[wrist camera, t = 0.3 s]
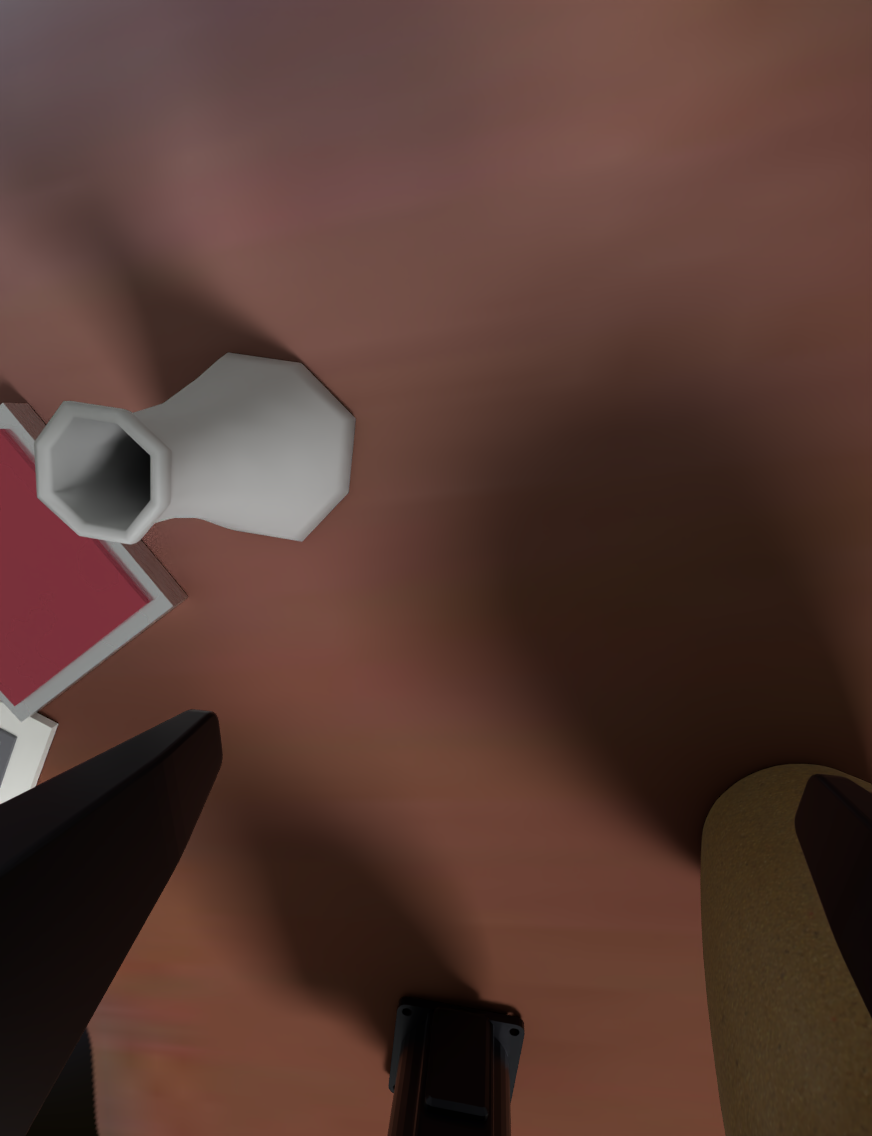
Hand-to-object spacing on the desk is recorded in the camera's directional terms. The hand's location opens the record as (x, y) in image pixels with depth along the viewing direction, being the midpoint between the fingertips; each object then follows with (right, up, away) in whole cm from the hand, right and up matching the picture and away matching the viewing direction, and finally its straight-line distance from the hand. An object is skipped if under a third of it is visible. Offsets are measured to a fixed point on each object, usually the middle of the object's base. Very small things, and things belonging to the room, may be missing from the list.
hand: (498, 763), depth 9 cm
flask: (-8, +8, +14) cm, 18 cm away
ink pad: (-19, +3, +16) cm, 25 cm away
